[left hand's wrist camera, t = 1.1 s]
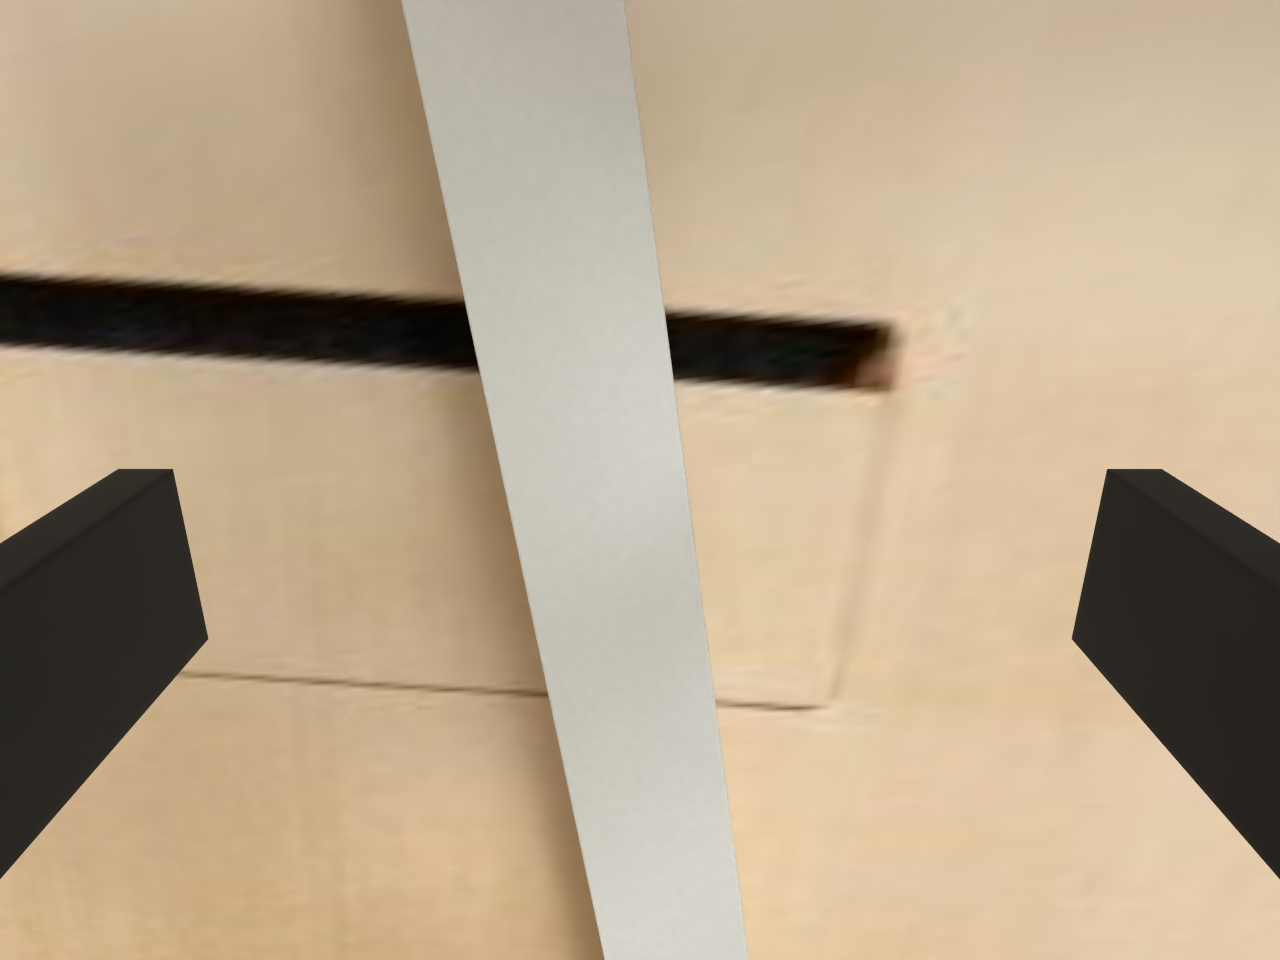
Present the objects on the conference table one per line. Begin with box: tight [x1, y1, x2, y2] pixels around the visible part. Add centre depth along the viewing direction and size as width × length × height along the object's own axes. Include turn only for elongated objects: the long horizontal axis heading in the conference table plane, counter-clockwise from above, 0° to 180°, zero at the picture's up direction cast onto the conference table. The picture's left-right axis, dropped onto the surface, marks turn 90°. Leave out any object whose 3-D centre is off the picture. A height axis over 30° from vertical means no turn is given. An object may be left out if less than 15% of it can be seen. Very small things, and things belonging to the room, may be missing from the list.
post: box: [401, 0, 749, 960], centre depth 31 cm, size 57×5×8 cm, turn 8°
